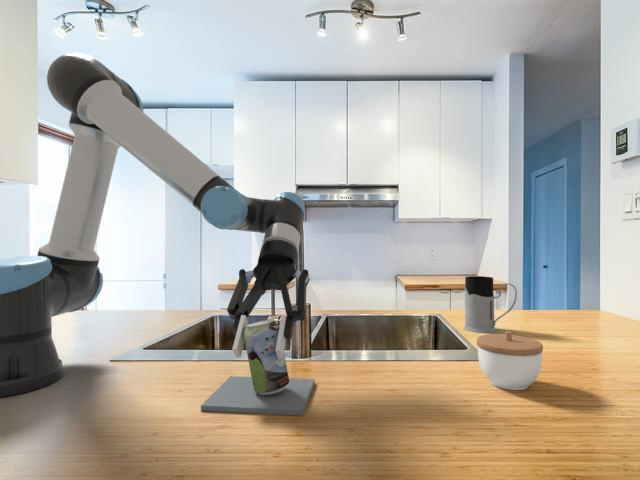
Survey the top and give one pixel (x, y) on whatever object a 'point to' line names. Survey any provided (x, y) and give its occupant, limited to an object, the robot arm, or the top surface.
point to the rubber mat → (259, 397)
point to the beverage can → (265, 357)
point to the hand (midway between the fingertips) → (257, 353)
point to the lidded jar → (510, 360)
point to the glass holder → (481, 304)
